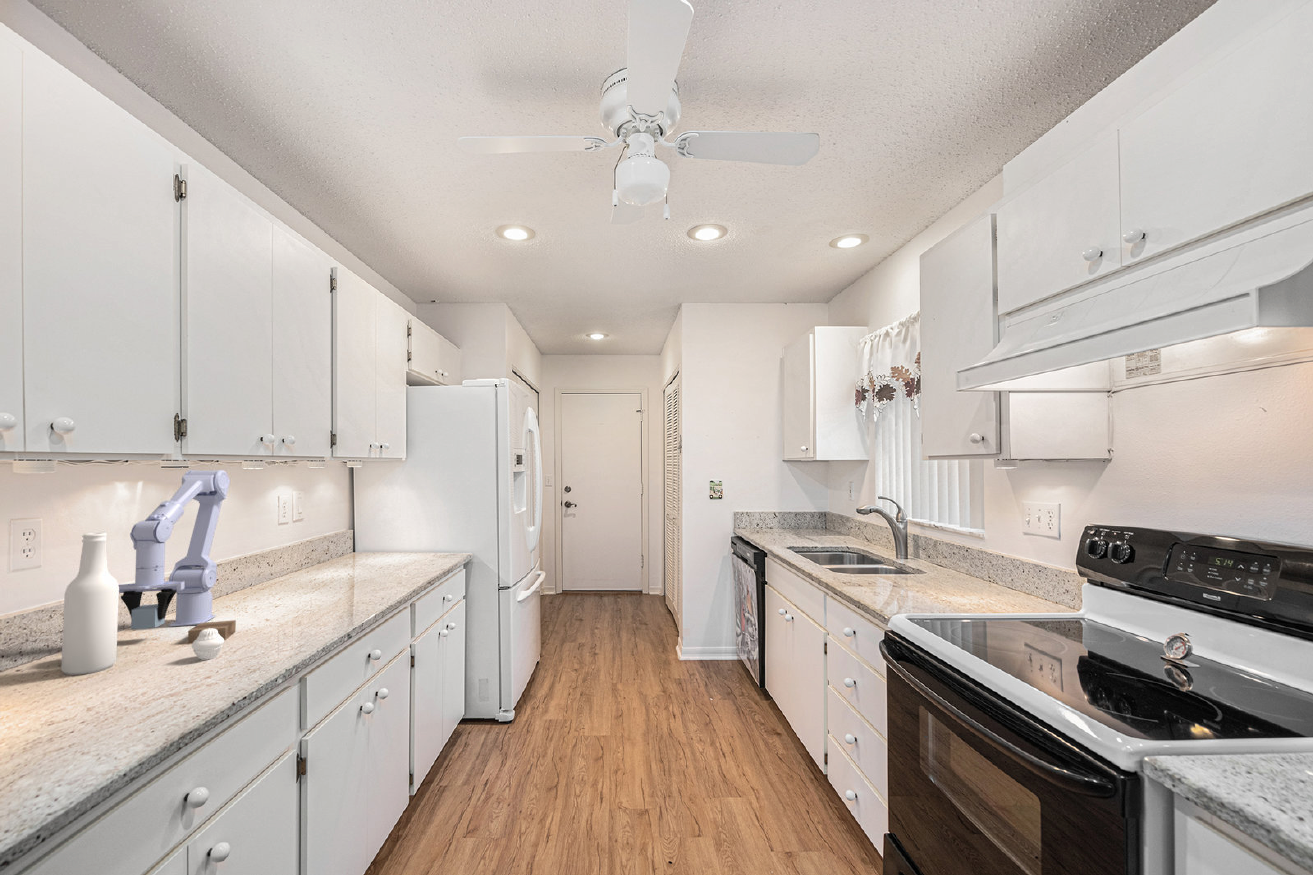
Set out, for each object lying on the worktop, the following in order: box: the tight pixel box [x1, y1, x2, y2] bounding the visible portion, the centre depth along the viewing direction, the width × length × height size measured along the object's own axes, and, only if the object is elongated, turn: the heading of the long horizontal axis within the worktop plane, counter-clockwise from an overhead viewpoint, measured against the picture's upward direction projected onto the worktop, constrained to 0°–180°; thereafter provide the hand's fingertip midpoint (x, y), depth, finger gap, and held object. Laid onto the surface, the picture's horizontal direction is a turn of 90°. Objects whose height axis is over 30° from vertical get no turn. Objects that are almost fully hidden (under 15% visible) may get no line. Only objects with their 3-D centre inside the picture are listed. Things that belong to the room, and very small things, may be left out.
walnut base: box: [187, 619, 237, 645], centre depth 155 cm, size 8×8×4 cm
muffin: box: [191, 628, 225, 661], centre depth 138 cm, size 6×6×7 cm
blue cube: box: [130, 603, 166, 631], centre depth 152 cm, size 5×5×5 cm
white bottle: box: [60, 532, 120, 676], centre depth 131 cm, size 9×9×30 cm
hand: (148, 619), depth 152 cm, fingers closed on blue cube, 5 cm apart
